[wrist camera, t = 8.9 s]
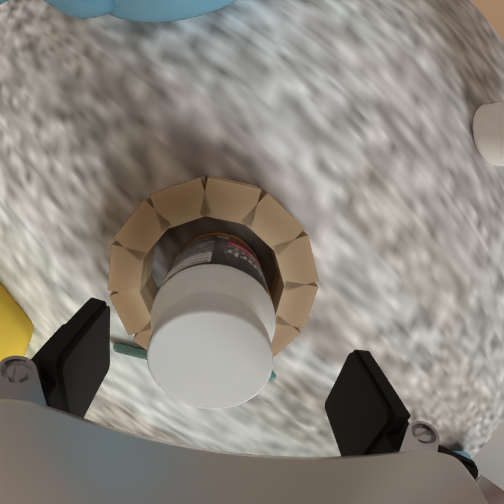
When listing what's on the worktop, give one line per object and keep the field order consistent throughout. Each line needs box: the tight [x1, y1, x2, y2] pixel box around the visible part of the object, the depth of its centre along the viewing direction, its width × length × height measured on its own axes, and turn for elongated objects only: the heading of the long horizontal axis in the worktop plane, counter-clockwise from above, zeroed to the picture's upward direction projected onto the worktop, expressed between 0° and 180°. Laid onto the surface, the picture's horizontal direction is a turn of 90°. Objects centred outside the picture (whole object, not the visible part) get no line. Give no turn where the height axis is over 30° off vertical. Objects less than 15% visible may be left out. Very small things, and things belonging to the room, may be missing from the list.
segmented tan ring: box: [108, 176, 319, 357], centre depth 18 cm, size 12×12×3 cm
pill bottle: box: [147, 232, 276, 409], centre depth 15 cm, size 6×6×10 cm
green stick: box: [113, 343, 276, 381], centre depth 21 cm, size 13×1×1 cm, turn 76°
